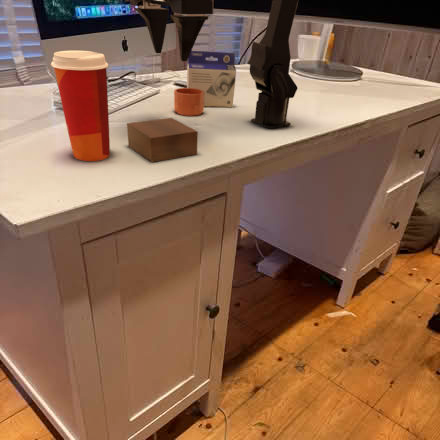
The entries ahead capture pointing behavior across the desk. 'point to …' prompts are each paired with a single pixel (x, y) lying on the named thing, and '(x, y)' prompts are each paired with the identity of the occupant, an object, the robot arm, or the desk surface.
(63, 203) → the desk surface
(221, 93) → the ink box
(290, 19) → the robot arm
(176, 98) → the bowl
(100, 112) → the coffee cup
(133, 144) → the stand
